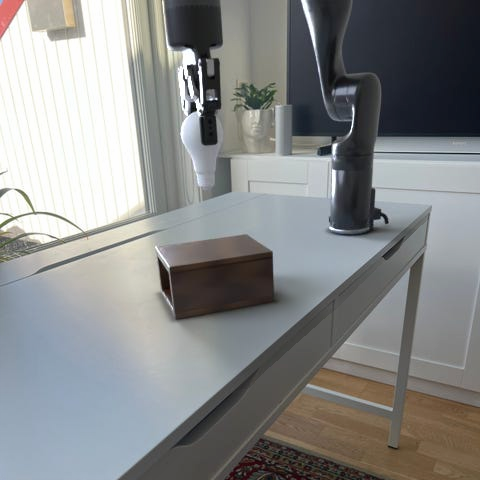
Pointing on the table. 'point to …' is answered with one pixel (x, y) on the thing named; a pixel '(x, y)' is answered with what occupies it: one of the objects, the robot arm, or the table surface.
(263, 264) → the shelf
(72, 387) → the table surface
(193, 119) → the lightbulb
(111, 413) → the table surface
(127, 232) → the table surface
